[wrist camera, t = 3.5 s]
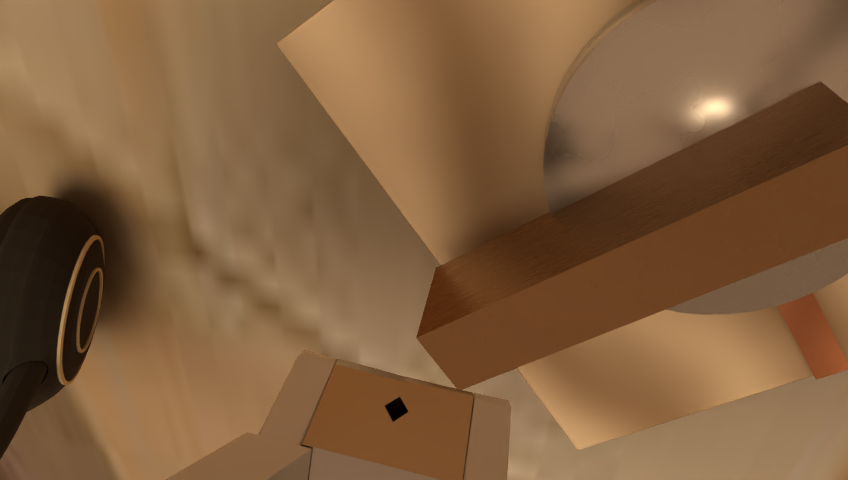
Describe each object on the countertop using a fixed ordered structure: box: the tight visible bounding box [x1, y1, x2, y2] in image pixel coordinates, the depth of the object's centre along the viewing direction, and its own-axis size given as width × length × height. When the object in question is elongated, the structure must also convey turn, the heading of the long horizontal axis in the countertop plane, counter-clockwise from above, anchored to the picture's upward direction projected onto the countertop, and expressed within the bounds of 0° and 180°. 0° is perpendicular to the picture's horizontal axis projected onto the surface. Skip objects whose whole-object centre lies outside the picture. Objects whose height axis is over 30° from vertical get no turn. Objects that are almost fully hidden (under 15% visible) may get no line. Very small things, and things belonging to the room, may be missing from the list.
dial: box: [416, 0, 848, 390], centre depth 19 cm, size 16×11×5 cm
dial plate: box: [277, 0, 848, 450], centre depth 21 cm, size 21×21×2 cm
